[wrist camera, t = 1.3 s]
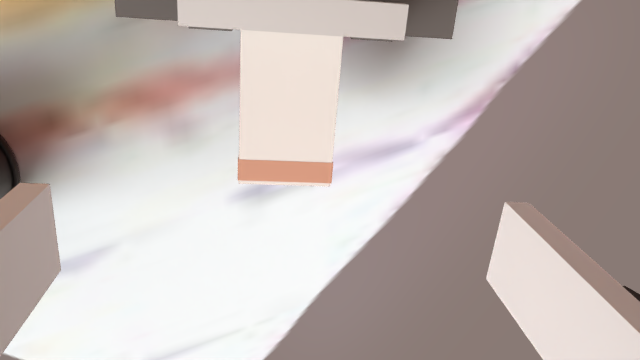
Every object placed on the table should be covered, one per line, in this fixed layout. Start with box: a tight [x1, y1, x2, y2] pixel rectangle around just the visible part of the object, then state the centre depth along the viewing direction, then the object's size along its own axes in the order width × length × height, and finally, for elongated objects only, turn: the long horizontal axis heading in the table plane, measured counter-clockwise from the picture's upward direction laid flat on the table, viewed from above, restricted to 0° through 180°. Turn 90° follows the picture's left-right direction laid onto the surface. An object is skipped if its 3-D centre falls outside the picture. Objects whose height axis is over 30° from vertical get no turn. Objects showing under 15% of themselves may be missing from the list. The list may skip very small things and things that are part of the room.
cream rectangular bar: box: [238, 30, 343, 186], centre depth 25 cm, size 16×5×3 cm, turn 176°
